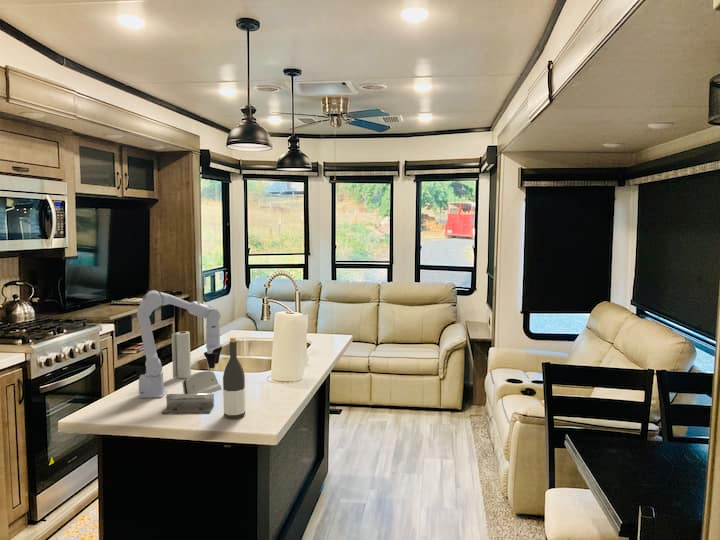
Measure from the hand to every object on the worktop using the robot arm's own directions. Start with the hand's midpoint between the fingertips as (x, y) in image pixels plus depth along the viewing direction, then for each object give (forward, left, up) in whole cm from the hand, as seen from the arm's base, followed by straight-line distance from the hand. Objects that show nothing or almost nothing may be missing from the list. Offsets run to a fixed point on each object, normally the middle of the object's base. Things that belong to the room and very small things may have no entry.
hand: (213, 365), depth 241 cm
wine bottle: (+15, -34, -10) cm, 39 cm away
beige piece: (-4, -6, -10) cm, 13 cm away
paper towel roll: (-18, +18, -10) cm, 27 cm away
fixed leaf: (-4, -27, -10) cm, 29 cm away
